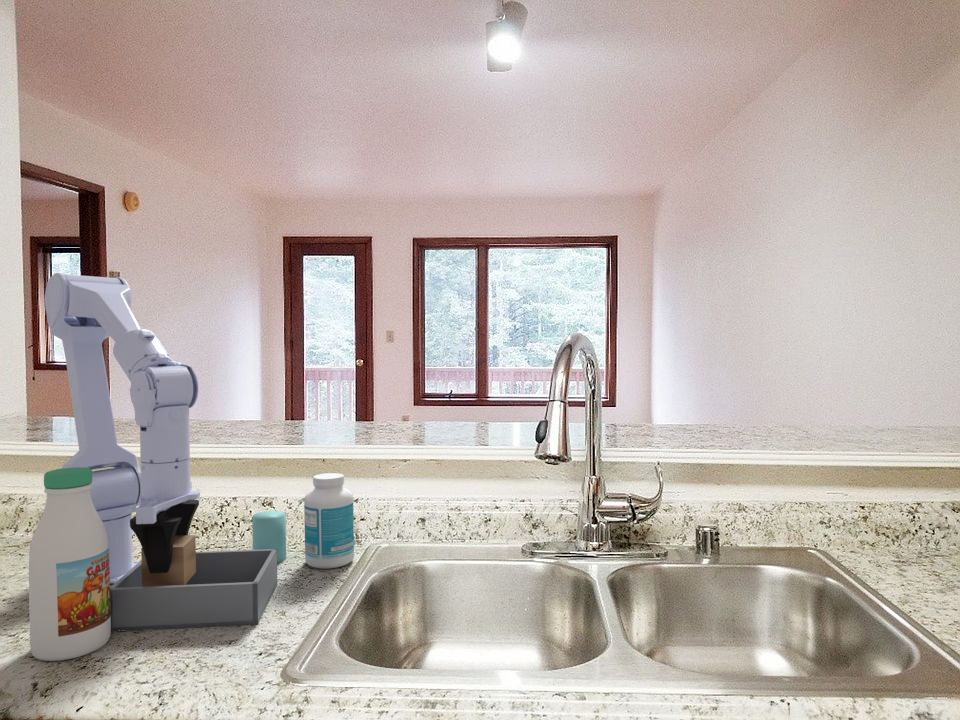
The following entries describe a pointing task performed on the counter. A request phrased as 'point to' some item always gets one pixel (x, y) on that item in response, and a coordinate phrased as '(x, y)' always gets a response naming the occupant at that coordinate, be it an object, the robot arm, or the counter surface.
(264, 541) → the teal cylinder
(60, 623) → the milk bottle
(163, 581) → the walnut cube
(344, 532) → the pill bottle
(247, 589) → the tote
